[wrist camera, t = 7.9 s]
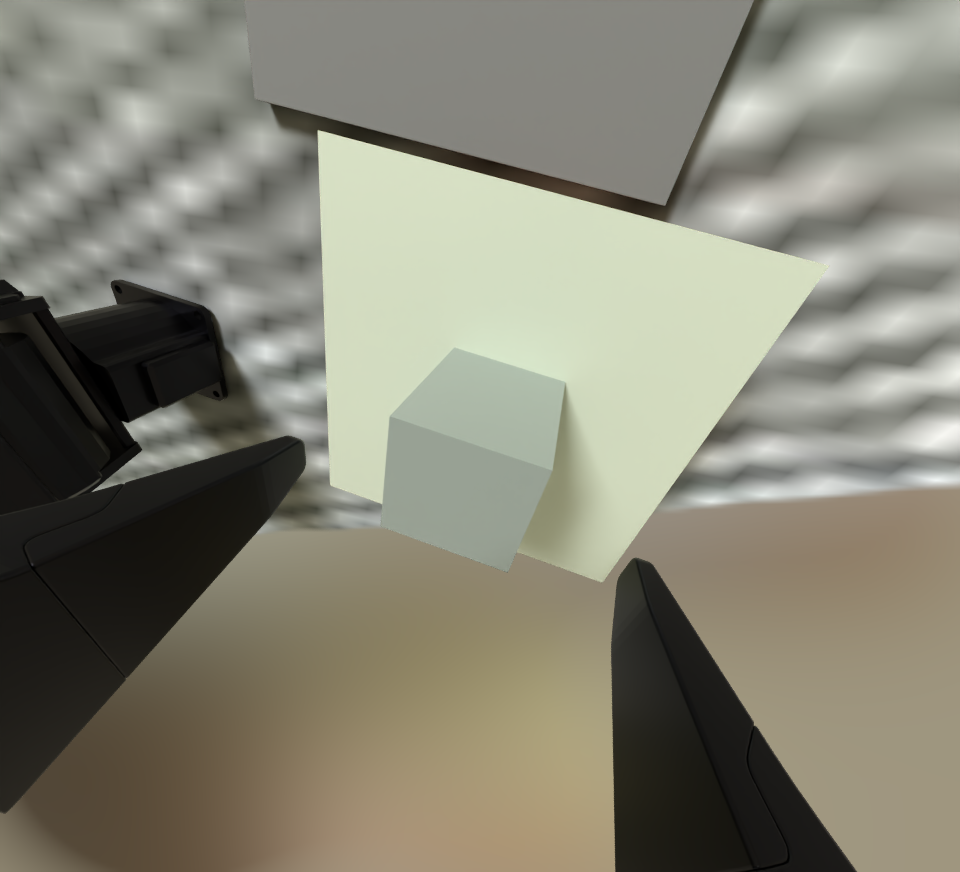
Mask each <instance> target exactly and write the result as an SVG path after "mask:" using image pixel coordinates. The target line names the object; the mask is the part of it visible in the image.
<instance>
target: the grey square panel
mask: <svg viewBox="0 0 960 872" xmlns="http://www.w3.org/2000/svg"><path fill="white" fill-rule="evenodd" d="M753 1H754V0H244V4H245V13H246V22H247V31H248V41H249V50H250V59H251V68H252V77H253V87H254V96H255V99H257V100H260V101H264V102H267V103H270V104H274V105H278V106H282V107H286V108H290V109H293V110H297V111H301V112H305V113H309V114H313V115H316V116H320V117H324V118H328V119H332V120H336V121H339V122H343V123H347V124H351V125H355V126H359V127H362V128H366V129H370V130H374V131H378V132H382V133H385V134H389V135H393V136H397V137H401V138H405V139H408V140H412V141H416V142H420V143H424V144H428V145H431V146H435V147H439V148H443V149H447V150H451V151H454V152H458V153H462V154H466V155H470V156H474V157H477V158H481V159H485V160H489V161H493V162H497V163H500V164H504V165H508V166H512V167H516V168H520V169H523V170H527V171H531V172H535V173H539V174H543V175H546V176H550V177H554V178H558V179H562V180H566V181H569V182H573V183H577V184H581V185H585V186H589V187H592V188H596V189H600V190H604V191H608V192H612V193H615V194H619V195H623V196H627V197H631V198H635V199H638V200H642V201H646V202H650V203H654V204H658V205H661V206H665V205H666V202H667V200H668V198H669V195H670V193H671V191H672V188H673V186H674V184H675V181H676V179H677V177H678V175H679V172H680V170H681V168H682V165H683V163H684V161H685V158H686V156H687V154H688V151H689V149H690V147H691V145H692V142H693V140H694V138H695V135H696V133H697V131H698V128H699V126H700V124H701V121H702V119H703V117H704V115H705V112H706V110H707V108H708V105H709V103H710V101H711V98H712V96H713V94H714V91H715V89H716V87H717V85H718V82H719V80H720V78H721V75H722V73H723V71H724V68H725V66H726V64H727V61H728V59H729V57H730V55H731V52H732V50H733V48H734V45H735V43H736V41H737V38H738V36H739V34H740V31H741V29H742V27H743V25H744V22H745V20H746V18H747V15H748V13H749V11H750V8H751V6H752V4H753Z"/></svg>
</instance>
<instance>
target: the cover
mask: <svg viewBox="0 0 960 872" xmlns="http://www.w3.org/2000/svg"><path fill="white" fill-rule="evenodd" d="M318 154H319V182H320V211H321V239H322V267H323V296H324V324H325V352H326V381H327V409H328V437H329V466H330V486H333V487H336V488H339V489H341V490H344V491H347V492H350V493H353V494H355V495H358V496H361V497H364V498H367V499H369V500H372V501H375V502H378V503H381V504H382V514H381V527H384V528H387V529H389V530H392V531H395V532H398V533H400V534H403V535H406V536H409V537H411V538H414V539H417V540H419V541H422V542H425V543H428V544H430V545H433V546H436V547H439V548H441V549H444V550H447V551H450V552H453V553H455V554H458V555H461V556H463V557H466V558H469V559H472V560H474V561H477V562H480V563H483V564H486V565H488V566H491V567H494V568H497V569H499V570H502V571H505V572H508V571H509V569H510V566H511V564H512V562H513V560H514V557H515V555H516V553H517V552H518V553H520V554H523V555H526V556H529V557H532V558H534V559H537V560H540V561H543V562H546V563H549V564H551V565H554V566H557V567H559V568H563V569H565V570H568V571H571V572H573V573H576V574H579V575H582V576H585V577H588V578H590V579H593V580H596V581H599V582H601V583H602V582H603V581H604V580H605V578H606V577H607V576H608V574H609V573H610V571H611V570H612V568H613V567H614V566H615V564H616V563H617V562H618V560H619V559H620V557H621V556H622V555H623V553H624V552H625V551H626V549H627V548H628V546H629V545H630V543H631V542H632V541H633V539H634V538H635V536H636V535H637V534H638V532H639V531H640V530H641V528H642V527H643V525H644V524H645V523H646V521H647V520H648V518H649V517H650V516H651V514H652V513H653V511H654V510H655V509H656V507H657V506H658V504H659V503H660V502H661V500H662V499H663V497H664V496H665V495H666V493H667V492H668V490H669V489H670V488H671V486H672V485H673V483H674V482H675V481H676V479H677V478H678V476H679V475H680V474H681V472H682V471H683V469H684V468H685V467H686V465H687V464H688V462H689V461H690V460H691V458H692V457H693V456H694V454H695V453H696V451H697V450H698V449H699V447H700V446H701V444H702V443H703V442H704V440H705V439H706V437H707V436H708V435H709V433H710V432H711V430H712V429H713V428H714V426H715V425H716V423H717V422H718V421H719V419H720V418H721V416H722V415H723V414H724V412H725V411H726V409H727V408H728V407H729V405H730V404H731V402H732V401H733V400H734V398H735V397H736V395H737V394H738V393H739V391H740V390H741V388H742V387H743V386H744V384H745V383H746V381H747V380H748V379H749V377H750V376H751V374H752V373H753V372H754V370H755V369H756V367H757V366H758V365H759V363H760V362H761V361H762V359H763V358H764V356H765V355H766V354H767V352H768V351H769V349H770V348H771V347H772V345H773V344H774V342H775V341H776V340H777V338H778V337H779V335H780V334H781V333H782V331H783V330H784V328H785V327H786V326H787V324H788V323H789V321H790V320H791V319H792V317H793V316H794V314H795V313H796V312H797V310H798V309H799V307H800V306H801V305H802V303H803V302H804V300H805V299H806V298H807V296H808V295H809V293H810V292H811V291H812V289H813V288H814V286H815V285H816V284H817V282H818V281H819V279H820V278H821V277H822V275H823V274H824V273H825V271H826V270H827V268H828V267H829V266H828V265H824V264H821V263H817V262H813V261H809V260H806V259H802V258H798V257H794V256H791V255H787V254H783V253H779V252H776V251H772V250H768V249H764V248H761V247H757V246H753V245H749V244H745V243H742V242H738V241H734V240H730V239H727V238H723V237H719V236H715V235H711V234H708V233H704V232H700V231H696V230H693V229H689V228H685V227H681V226H678V225H674V224H670V223H666V222H662V221H659V220H655V219H651V218H647V217H644V216H640V215H636V214H632V213H629V212H625V211H621V210H617V209H613V208H610V207H606V206H602V205H598V204H595V203H591V202H587V201H583V200H580V199H576V198H572V197H568V196H564V195H561V194H557V193H553V192H549V191H546V190H542V189H538V188H534V187H531V186H527V185H523V184H519V183H515V182H512V181H508V180H504V179H500V178H497V177H493V176H489V175H485V174H482V173H478V172H474V171H470V170H466V169H463V168H459V167H455V166H451V165H448V164H444V163H440V162H436V161H432V160H429V159H425V158H421V157H417V156H414V155H410V154H406V153H402V152H399V151H395V150H391V149H387V148H383V147H380V146H376V145H372V144H368V143H365V142H361V141H357V140H353V139H350V138H346V137H342V136H338V135H334V134H331V133H327V132H323V131H319V130H318Z"/></svg>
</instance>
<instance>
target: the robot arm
mask: <svg viewBox="0 0 960 872" xmlns="http://www.w3.org/2000/svg"><path fill="white" fill-rule="evenodd" d="M111 288H112V290H113V293H114V296H115V299H116V302H117V305H113V306H108V307H104V308H99V309H94V310H90V311H85V312H80V313H76V314H71V315H67V316H62V317H57V318H54V317H53V316H52V314H51V313H50V311H49V310H48V309H49V308H50V307H49V305H48V304H47V302H46V301H45V299H44V297H43V296H24V295H23V293H22V292H21V291H18V290H17V289H16V288H14V287H13V286H12V285H10V284H9V283H8V282H6V281H5V280H0V813H3V814H5V813H7V812H8V811H9V810H10V809H11V808H12V807H13V806H14V805H15V804H16V803H17V801H19V800H20V798H21V797H22V796H23V795H24V794H25V793H26V792H27V791H28V789H29V788H30V787H31V786H32V785H33V784H34V783H35V782H36V780H37V779H38V778H39V777H40V776H41V775H42V774H43V773H44V772H45V770H46V769H47V768H48V767H49V766H50V765H51V764H52V762H53V761H54V760H55V759H56V758H57V757H58V756H59V755H60V753H61V752H62V751H63V750H64V749H65V748H66V747H67V746H68V744H69V743H70V742H71V741H72V740H73V739H74V737H76V735H77V734H78V733H79V732H80V731H81V730H82V729H83V728H84V727H85V725H86V724H87V723H88V722H89V721H90V720H91V719H92V717H93V716H94V715H95V714H96V713H97V712H98V711H99V710H100V709H101V707H102V706H103V705H104V704H105V703H106V702H107V701H108V699H109V698H110V697H111V696H112V695H113V694H114V693H115V692H116V691H117V689H118V688H119V687H120V686H121V685H122V684H123V682H124V681H125V680H126V678H127V677H128V676H129V675H130V674H131V673H132V672H133V671H134V670H135V669H136V668H137V667H138V665H139V664H140V663H141V662H142V661H143V660H144V659H145V657H146V656H147V655H148V654H149V653H150V652H151V651H152V649H154V647H155V646H156V645H157V644H158V643H159V642H160V641H161V640H162V638H163V637H164V636H165V635H166V634H167V633H168V631H170V629H171V628H172V627H173V626H174V625H175V624H176V623H177V621H178V620H179V619H180V618H181V617H182V616H183V615H184V614H185V613H186V611H187V610H188V609H189V608H190V607H191V606H192V605H193V603H194V602H195V601H196V600H197V599H198V598H199V597H200V595H201V594H202V593H203V592H204V591H205V590H206V589H207V588H208V587H209V586H210V584H211V583H212V582H213V581H214V580H215V579H216V578H217V577H218V575H219V574H220V573H221V572H222V571H223V570H224V569H225V568H226V566H227V565H228V564H229V563H230V562H231V561H232V560H233V559H234V557H235V556H236V555H237V554H238V553H239V552H240V551H241V550H242V548H243V547H244V546H245V545H246V544H247V543H248V541H250V539H251V538H252V537H253V536H254V535H255V534H256V533H257V532H258V530H259V529H260V528H261V527H262V526H263V525H264V524H265V522H266V521H267V520H268V519H269V518H270V517H271V515H272V514H273V513H274V511H275V510H276V509H277V507H278V506H279V505H280V503H281V502H282V500H283V499H284V498H285V496H286V495H287V493H288V492H289V491H290V489H291V488H292V486H293V485H294V484H295V482H296V481H297V479H298V478H299V477H300V475H301V474H302V473H303V471H304V469H305V466H306V456H305V445H304V442H303V441H302V440H301V439H298V438H295V437H292V436H284V437H280V438H277V439H273V440H270V441H267V442H263V443H260V444H256V445H253V446H249V447H246V448H242V449H239V450H236V451H232V452H229V453H225V454H222V455H218V456H215V457H212V458H208V459H205V460H201V461H198V462H194V463H191V464H188V465H184V466H181V467H177V468H174V469H170V470H167V471H163V472H160V473H157V474H153V475H150V476H146V477H143V478H139V479H136V480H132V481H129V482H126V483H125V484H118V485H115V486H112V487H108V488H105V489H101V490H98V491H94V492H92V491H93V490H94V489H95V488H97V487H98V486H99V485H100V484H102V483H103V482H104V481H105V480H106V479H108V478H109V477H110V476H111V475H113V474H114V473H115V472H116V471H117V470H119V469H120V468H121V467H122V466H124V465H125V464H126V463H127V462H128V461H130V460H131V459H132V458H133V457H135V456H136V455H137V454H138V453H140V452H141V451H142V448H141V447H140V445H139V444H138V442H136V441H134V440H133V438H132V437H131V435H130V434H129V432H128V431H127V429H126V427H125V426H124V424H123V423H122V421H124V422H126V423H129V422H131V421H133V420H135V419H137V418H139V417H142V416H144V415H146V414H148V413H150V412H152V411H154V410H156V409H158V408H160V407H162V408H165V407H168V406H170V405H172V404H174V403H176V402H178V401H180V400H182V399H184V398H186V397H188V396H190V395H193V394H195V393H198V394H201V395H204V396H207V397H210V398H212V399H215V400H219V401H221V400H223V399H225V398H227V389H226V385H225V380H224V376H223V371H222V366H221V362H220V357H219V353H218V348H217V343H216V339H215V334H214V330H213V325H212V320H211V316H210V313H209V311H208V310H207V309H206V308H205V307H204V306H202V305H199V304H196V303H193V302H190V301H187V300H184V299H181V298H177V297H174V296H171V295H168V294H165V293H162V292H159V291H156V290H153V289H149V288H146V287H143V286H140V285H137V284H134V283H131V282H128V281H124V280H114V281H112V282H111ZM611 664H612V665H611V666H612V719H613V769H614V770H613V772H614V823H615V872H857V871H856V870H855V868H854V867H853V866H852V864H851V863H850V862H849V860H848V859H847V857H846V856H845V854H844V853H843V852H842V850H841V849H840V848H839V846H838V845H837V843H836V842H835V841H834V839H833V838H832V836H831V835H830V834H829V832H828V831H827V830H826V828H825V827H824V825H823V824H822V823H821V821H820V820H819V818H818V817H817V815H816V814H815V813H814V811H813V810H812V808H811V807H810V806H809V804H808V803H807V801H806V800H805V798H804V797H803V795H802V794H801V793H800V791H799V790H798V788H797V787H796V786H795V784H794V783H793V781H792V780H791V778H790V777H789V775H788V773H787V772H786V771H785V769H784V768H783V766H782V764H781V763H780V761H779V760H778V758H777V757H776V755H775V754H774V752H773V751H772V749H771V748H770V746H769V745H768V743H767V742H766V740H765V738H764V737H763V735H762V734H761V732H760V731H759V729H758V728H757V727H756V726H754V722H753V720H752V718H751V717H750V715H749V714H748V712H747V711H746V709H745V708H744V706H743V704H742V703H741V701H740V700H739V698H738V697H737V695H736V693H735V692H734V690H733V689H732V687H731V686H730V684H729V683H728V681H727V679H726V678H725V676H724V675H723V673H722V672H721V670H720V669H719V667H718V665H717V664H716V662H715V661H714V660H713V658H712V656H711V654H710V653H709V651H708V650H707V648H706V647H705V645H704V644H703V642H702V640H701V639H700V637H699V636H698V634H697V633H696V631H695V630H694V628H693V626H692V625H691V623H690V622H689V620H688V619H687V617H686V615H685V614H684V612H683V611H682V609H681V608H680V606H679V605H678V603H677V601H676V600H675V598H674V597H673V595H672V594H671V592H670V591H669V589H668V587H667V586H666V584H665V583H664V581H663V580H662V578H661V576H660V575H659V573H658V572H657V570H656V569H655V567H654V566H653V565H652V564H651V563H650V562H648V561H645V560H642V559H639V558H633V559H632V560H631V561H630V562H629V564H628V565H627V566H626V568H625V569H624V570H623V572H622V573H621V574H620V576H619V578H618V581H617V587H616V598H615V608H614V619H613V630H612V642H611Z"/></svg>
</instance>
